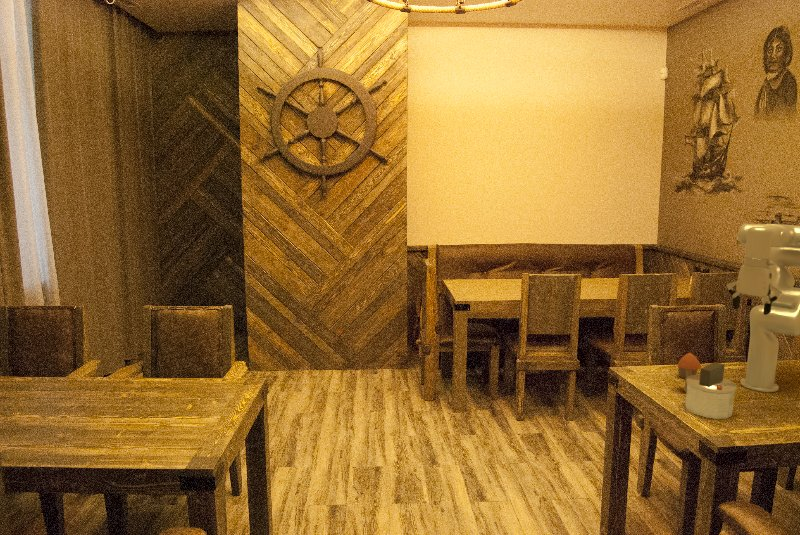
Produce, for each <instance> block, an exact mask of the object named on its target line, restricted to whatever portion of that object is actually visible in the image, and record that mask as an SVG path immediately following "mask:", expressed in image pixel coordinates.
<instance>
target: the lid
mask: <svg viewBox="0 0 800 535" xmlns="http://www.w3.org/2000/svg"><path fill="white" fill-rule="evenodd" d="M724 372H725V364H724V363H720V362H718V361H714V362H712V363H710V364H708V365H706V366H705V365H704V367H701V368H700V372H699V373H700V374H696V375H691V376H688V377H687V380H686V379H685V380H686V383H687V384H688V385H689V386H690V387H692V388H694V389H697V390H700V391H704V392H709V393H716V394H729V393H733V392H734V393H735V392H736V391H737V384H736V383H735V382H733V381H732V380H730V379H728V378H724V374H725V373H724Z"/></svg>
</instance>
